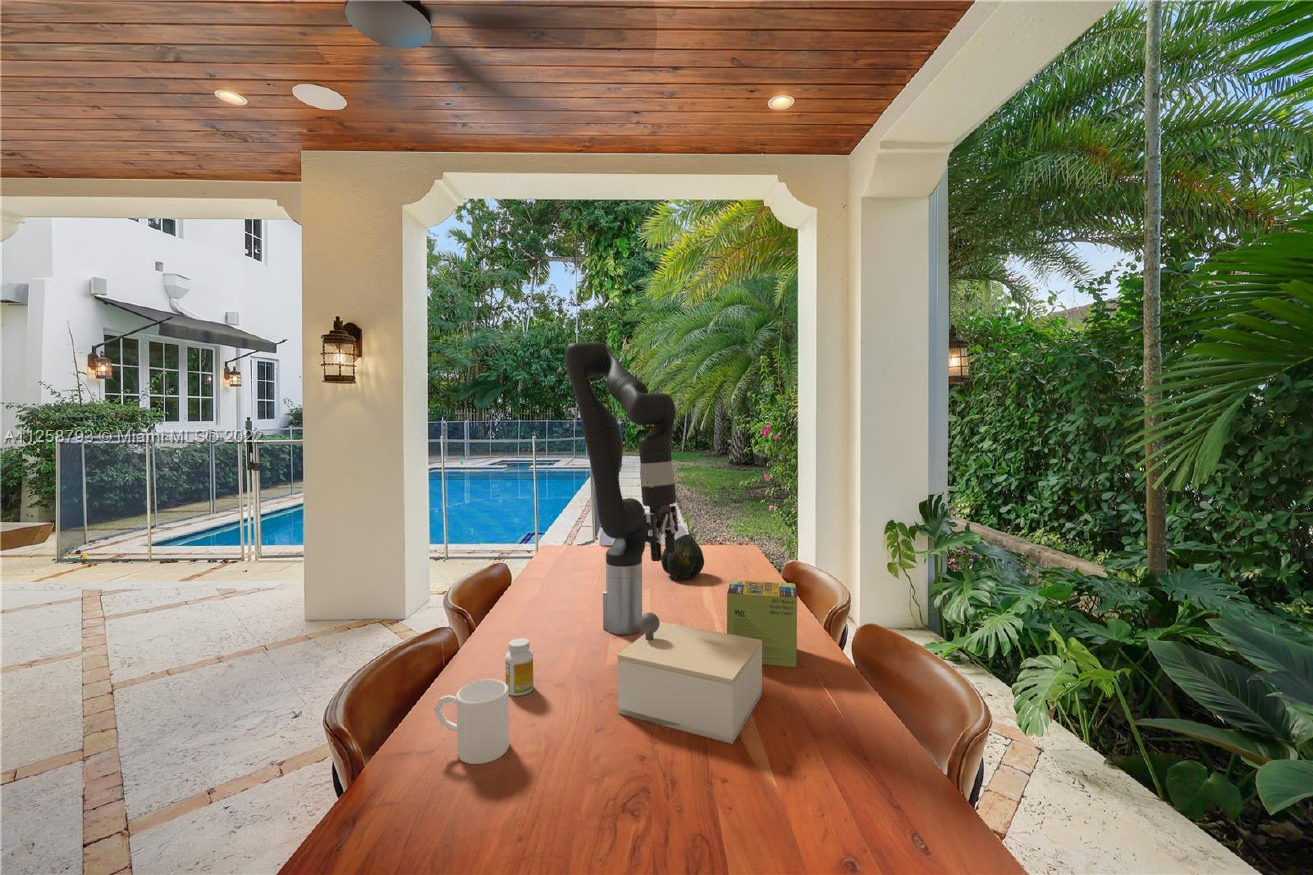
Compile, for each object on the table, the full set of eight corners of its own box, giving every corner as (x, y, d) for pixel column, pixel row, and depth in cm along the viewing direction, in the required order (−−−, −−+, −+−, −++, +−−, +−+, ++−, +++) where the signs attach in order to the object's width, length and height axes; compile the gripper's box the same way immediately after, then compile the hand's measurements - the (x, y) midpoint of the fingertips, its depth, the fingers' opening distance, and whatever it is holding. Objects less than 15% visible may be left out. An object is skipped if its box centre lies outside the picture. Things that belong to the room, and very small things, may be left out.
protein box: (797, 668, 120) (798, 597, 119) (726, 662, 123) (726, 592, 122) (795, 648, 130) (795, 582, 129) (729, 643, 133) (729, 579, 132)
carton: (617, 713, 101) (617, 659, 101) (660, 672, 118) (660, 626, 117) (732, 744, 92) (732, 685, 91) (761, 695, 108) (762, 644, 107)
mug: (444, 735, 95) (443, 678, 94) (514, 735, 95) (513, 678, 94) (424, 765, 87) (423, 703, 86) (501, 764, 87) (500, 703, 86)
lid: (617, 659, 101) (617, 627, 101) (660, 625, 117) (660, 598, 117) (732, 684, 91) (732, 649, 91) (762, 644, 107) (762, 614, 107)
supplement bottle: (538, 685, 112) (538, 638, 112) (523, 698, 107) (523, 649, 106) (515, 681, 114) (515, 635, 113) (500, 694, 109) (499, 645, 108)
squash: (650, 565, 182) (680, 532, 181) (657, 555, 197) (685, 525, 195) (681, 595, 181) (712, 562, 179) (687, 583, 195) (715, 552, 194)
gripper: (654, 481, 130) (660, 550, 129) (628, 486, 117) (635, 563, 116) (684, 479, 127) (690, 550, 127) (661, 484, 114) (668, 563, 113)
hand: (664, 556), depth 121 cm, fingers open, 8 cm apart
